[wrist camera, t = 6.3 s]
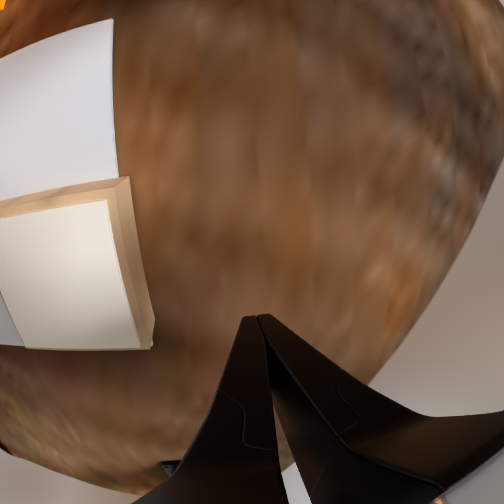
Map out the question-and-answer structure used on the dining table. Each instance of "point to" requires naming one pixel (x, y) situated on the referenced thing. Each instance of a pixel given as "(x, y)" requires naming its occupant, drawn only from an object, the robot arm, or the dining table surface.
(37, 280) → the tile
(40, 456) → the dining table surface
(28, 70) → the mat
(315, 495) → the robot arm
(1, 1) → the orange juice
